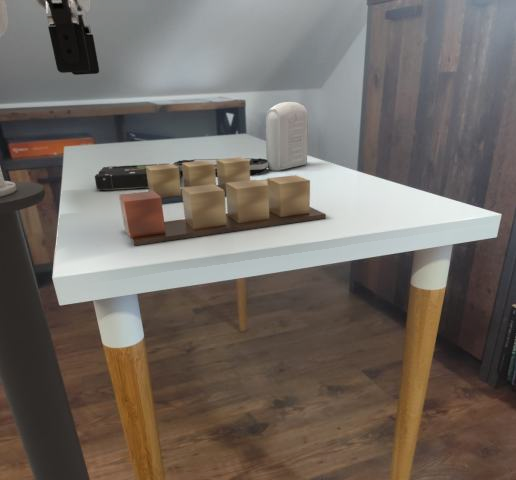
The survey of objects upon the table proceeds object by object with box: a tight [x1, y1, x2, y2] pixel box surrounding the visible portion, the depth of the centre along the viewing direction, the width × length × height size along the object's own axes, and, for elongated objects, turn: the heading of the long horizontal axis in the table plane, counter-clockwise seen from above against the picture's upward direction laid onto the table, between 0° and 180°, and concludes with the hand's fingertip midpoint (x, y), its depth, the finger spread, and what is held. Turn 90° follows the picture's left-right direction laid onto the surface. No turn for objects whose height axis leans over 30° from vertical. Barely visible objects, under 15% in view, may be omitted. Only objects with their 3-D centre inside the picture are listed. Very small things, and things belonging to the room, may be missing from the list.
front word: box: [124, 174, 327, 247], centre depth 65 cm, size 26×7×5 cm, turn 112°
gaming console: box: [172, 157, 269, 177], centre depth 100 cm, size 19×9×2 cm, turn 85°
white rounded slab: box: [265, 101, 309, 172], centre depth 100 cm, size 10×4×12 cm, turn 139°
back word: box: [146, 156, 267, 205], centre depth 83 cm, size 24×7×5 cm, turn 112°
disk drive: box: [94, 163, 182, 191], centre depth 92 cm, size 10×3×15 cm
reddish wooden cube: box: [118, 190, 166, 239], centre depth 61 cm, size 4×4×4 cm
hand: (80, 73), depth 55 cm, fingers open, 9 cm apart
